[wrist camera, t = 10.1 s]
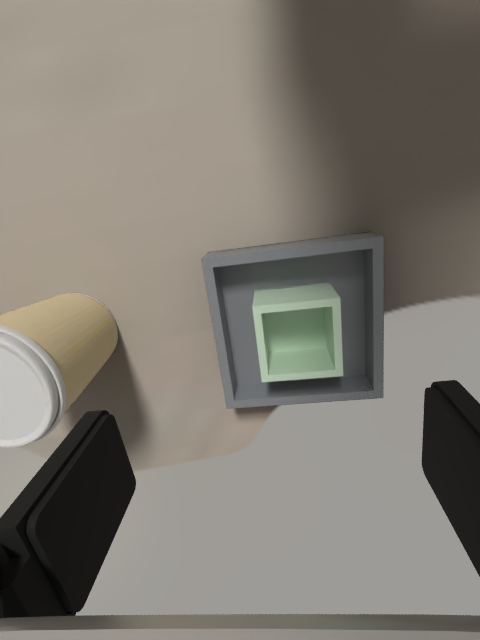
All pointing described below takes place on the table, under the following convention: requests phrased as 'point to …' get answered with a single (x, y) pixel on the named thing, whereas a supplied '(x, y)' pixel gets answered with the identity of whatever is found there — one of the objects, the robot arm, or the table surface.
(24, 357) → the coffee cup
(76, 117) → the table surface
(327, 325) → the box
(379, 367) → the large crate
